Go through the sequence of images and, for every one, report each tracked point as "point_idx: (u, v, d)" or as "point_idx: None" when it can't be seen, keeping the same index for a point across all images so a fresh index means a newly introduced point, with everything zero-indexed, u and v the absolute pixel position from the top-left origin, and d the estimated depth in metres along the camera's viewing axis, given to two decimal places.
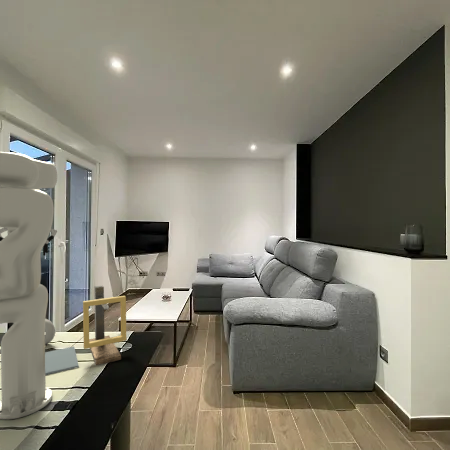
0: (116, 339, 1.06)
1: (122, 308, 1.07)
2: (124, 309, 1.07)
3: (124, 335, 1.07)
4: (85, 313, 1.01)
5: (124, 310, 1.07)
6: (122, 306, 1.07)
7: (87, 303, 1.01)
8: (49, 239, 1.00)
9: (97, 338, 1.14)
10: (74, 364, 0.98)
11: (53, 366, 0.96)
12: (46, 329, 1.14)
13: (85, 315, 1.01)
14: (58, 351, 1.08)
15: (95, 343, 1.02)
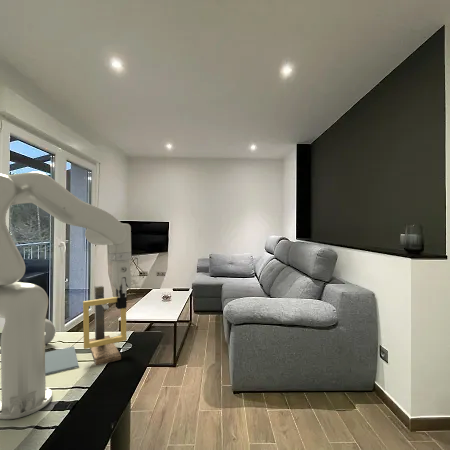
0: (116, 339, 1.06)
1: None
2: (124, 309, 1.07)
3: (124, 335, 1.07)
4: (85, 313, 1.01)
5: (124, 310, 1.07)
6: None
7: (87, 303, 1.01)
8: None
9: (97, 338, 1.14)
10: (74, 364, 0.98)
11: (53, 366, 0.96)
12: (46, 329, 1.14)
13: (85, 315, 1.01)
14: (58, 351, 1.08)
15: (95, 343, 1.02)
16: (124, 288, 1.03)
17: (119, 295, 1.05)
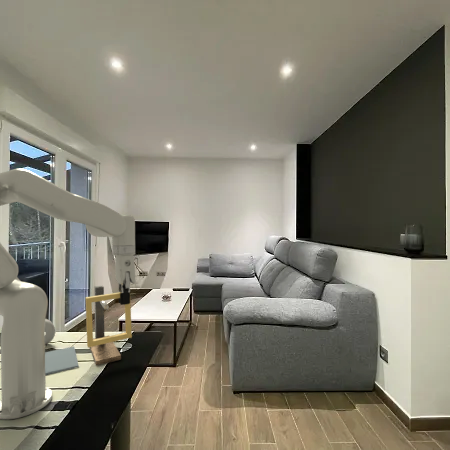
0: (121, 336, 1.01)
1: (126, 304, 1.02)
2: (129, 305, 1.03)
3: (129, 332, 1.03)
4: (88, 310, 0.96)
5: (129, 306, 1.03)
6: None
7: (90, 299, 0.96)
8: None
9: (97, 338, 1.14)
10: (74, 364, 0.98)
11: (53, 366, 0.96)
12: (46, 329, 1.14)
13: (88, 312, 0.96)
14: (58, 351, 1.08)
15: (99, 341, 0.97)
16: (128, 283, 0.98)
17: (122, 290, 1.00)
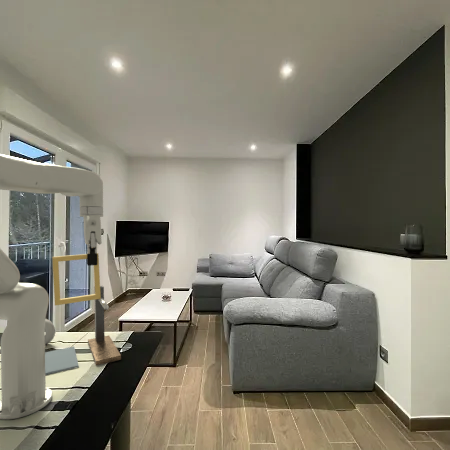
0: (89, 297, 1.02)
1: (95, 265, 1.03)
2: (97, 266, 1.03)
3: (98, 293, 1.03)
4: (54, 268, 0.97)
5: (97, 267, 1.03)
6: None
7: (56, 258, 0.98)
8: None
9: (97, 338, 1.14)
10: (74, 364, 0.98)
11: (53, 366, 0.96)
12: (46, 329, 1.14)
13: (55, 270, 0.97)
14: (58, 351, 1.08)
15: (66, 300, 0.99)
16: (93, 242, 0.99)
17: (89, 251, 1.01)
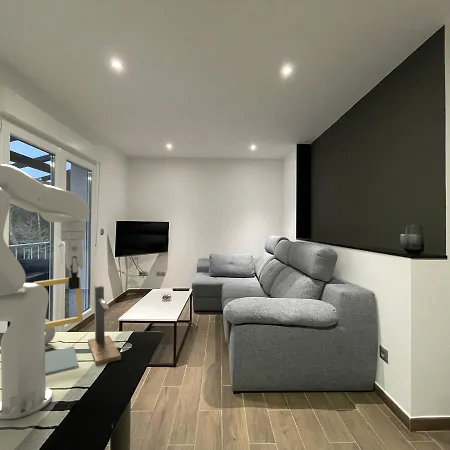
0: (71, 320, 1.04)
1: None
2: (79, 289, 1.05)
3: (80, 316, 1.05)
4: None
5: (79, 290, 1.05)
6: None
7: None
8: None
9: (97, 338, 1.14)
10: (74, 364, 0.98)
11: (53, 366, 0.96)
12: (46, 329, 1.14)
13: None
14: (58, 351, 1.08)
15: (48, 324, 1.00)
16: (74, 267, 1.00)
17: (70, 275, 1.02)
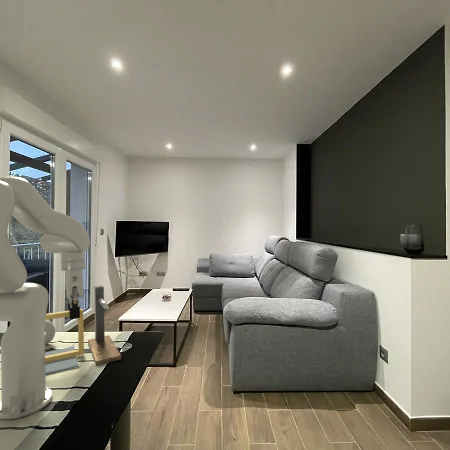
0: (73, 353, 1.03)
1: (79, 321, 1.05)
2: (81, 322, 1.05)
3: (81, 349, 1.05)
4: None
5: (81, 323, 1.05)
6: (79, 319, 1.05)
7: None
8: None
9: (97, 338, 1.14)
10: (74, 364, 0.98)
11: (53, 366, 0.96)
12: (46, 329, 1.14)
13: None
14: (58, 351, 1.08)
15: (50, 358, 1.00)
16: (75, 293, 0.99)
17: (71, 304, 1.00)
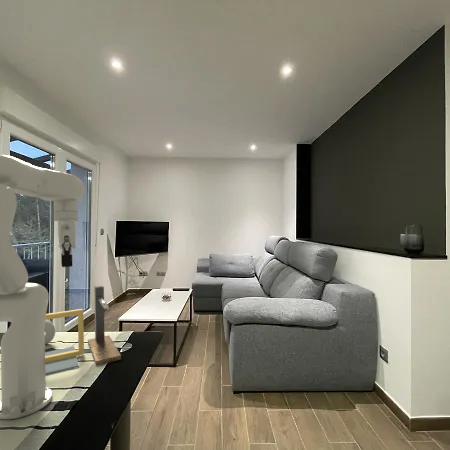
0: (73, 353, 1.03)
1: (79, 321, 1.05)
2: (81, 322, 1.05)
3: (81, 349, 1.05)
4: None
5: (81, 323, 1.05)
6: (79, 319, 1.05)
7: None
8: None
9: (97, 338, 1.14)
10: (74, 364, 0.98)
11: (53, 366, 0.96)
12: (46, 329, 1.14)
13: None
14: (58, 351, 1.08)
15: (50, 358, 1.00)
16: (66, 238, 0.99)
17: (63, 251, 0.98)
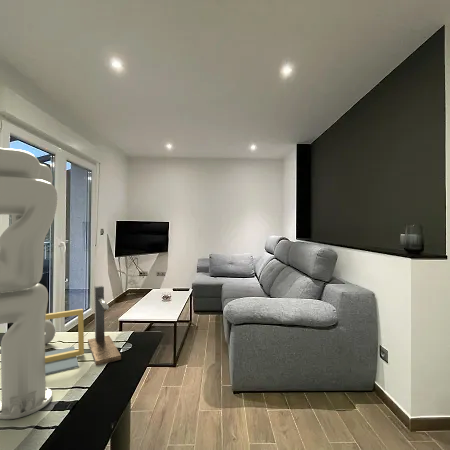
0: (73, 353, 1.03)
1: (79, 321, 1.05)
2: (81, 322, 1.05)
3: (81, 349, 1.05)
4: None
5: (81, 323, 1.05)
6: (79, 319, 1.05)
7: None
8: None
9: (97, 338, 1.14)
10: (74, 364, 0.98)
11: (53, 366, 0.96)
12: (46, 329, 1.14)
13: None
14: (58, 351, 1.08)
15: (50, 358, 1.00)
16: None
17: None
